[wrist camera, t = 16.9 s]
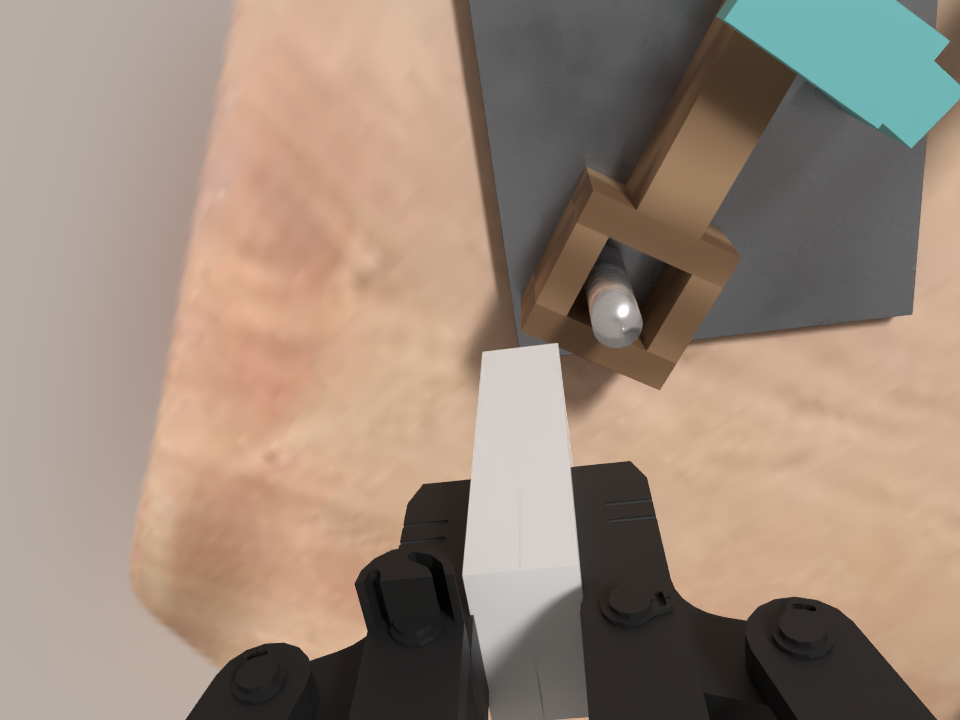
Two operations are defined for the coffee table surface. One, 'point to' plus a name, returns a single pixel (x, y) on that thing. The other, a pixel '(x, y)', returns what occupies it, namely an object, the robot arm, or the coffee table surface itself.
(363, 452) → the coffee table surface
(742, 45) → the link
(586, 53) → the base
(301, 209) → the coffee table surface
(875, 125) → the keeper
